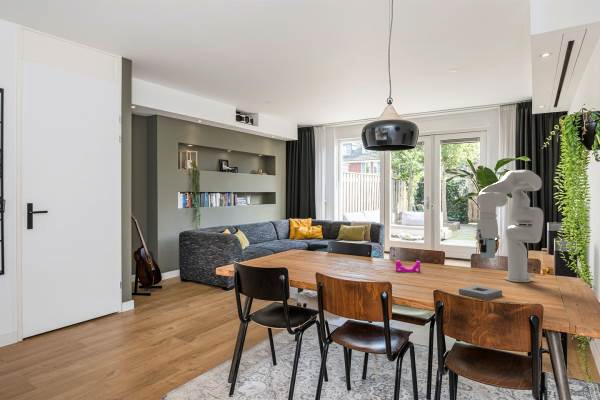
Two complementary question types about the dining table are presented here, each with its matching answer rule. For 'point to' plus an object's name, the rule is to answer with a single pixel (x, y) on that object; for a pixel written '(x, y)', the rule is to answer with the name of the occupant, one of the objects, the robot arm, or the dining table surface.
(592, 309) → the dining table surface
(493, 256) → the peg
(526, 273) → the robot arm
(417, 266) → the toy block
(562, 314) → the dining table surface
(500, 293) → the socket
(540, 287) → the dining table surface
